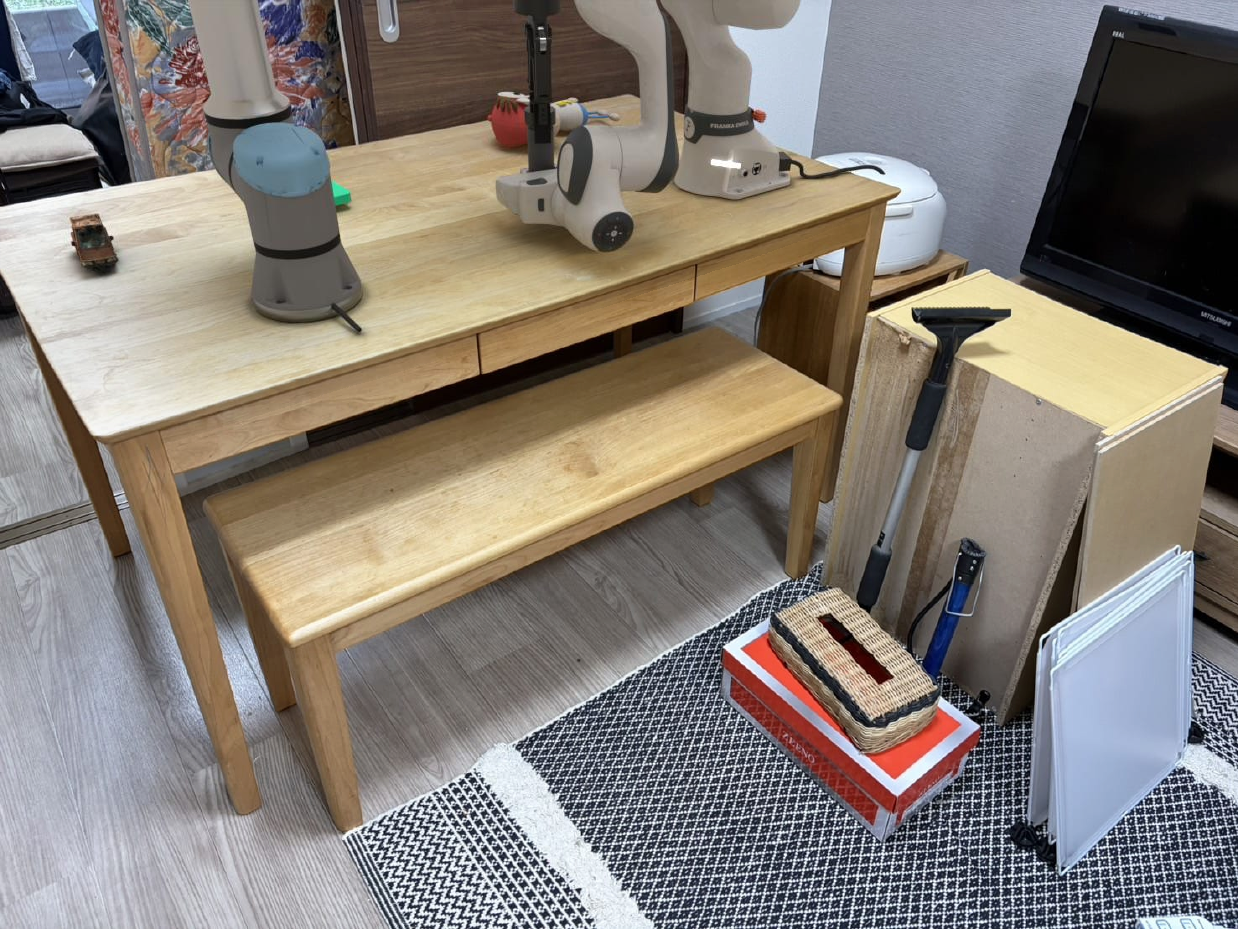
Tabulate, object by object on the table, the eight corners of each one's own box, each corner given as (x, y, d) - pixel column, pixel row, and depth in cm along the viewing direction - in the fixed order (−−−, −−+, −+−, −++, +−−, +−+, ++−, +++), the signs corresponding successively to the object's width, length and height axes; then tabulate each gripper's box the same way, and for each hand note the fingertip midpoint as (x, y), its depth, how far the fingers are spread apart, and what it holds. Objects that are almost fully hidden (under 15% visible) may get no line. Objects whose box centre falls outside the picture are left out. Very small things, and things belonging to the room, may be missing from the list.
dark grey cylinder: (526, 206, 165) (523, 111, 155) (550, 203, 166) (548, 109, 157) (534, 215, 162) (531, 119, 152) (558, 212, 163) (557, 117, 153)
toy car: (109, 242, 148) (95, 200, 144) (132, 268, 141) (118, 225, 137) (66, 252, 145) (51, 209, 141) (87, 279, 138) (72, 235, 133)
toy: (638, 98, 193) (509, 99, 178) (634, 148, 198) (509, 154, 183) (593, 85, 207) (469, 85, 192) (590, 133, 211) (469, 136, 196)
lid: (521, 119, 156) (521, 105, 155) (551, 117, 158) (550, 103, 156) (529, 128, 152) (528, 114, 151) (559, 126, 154) (559, 112, 153)
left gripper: (506, -26, 149) (513, 121, 163) (518, -4, 135) (524, 155, 149) (553, -27, 150) (555, 120, 164) (569, -5, 136) (570, 154, 150)
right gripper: (629, 170, 153) (593, 144, 163) (513, 187, 145) (483, 159, 155) (627, 206, 157) (593, 180, 166) (514, 225, 149) (485, 195, 159)
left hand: (540, 136), depth 156 cm, fingers closed on lid, 5 cm apart
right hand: (539, 170), depth 161 cm, fingers closed on dark grey cylinder, 4 cm apart
